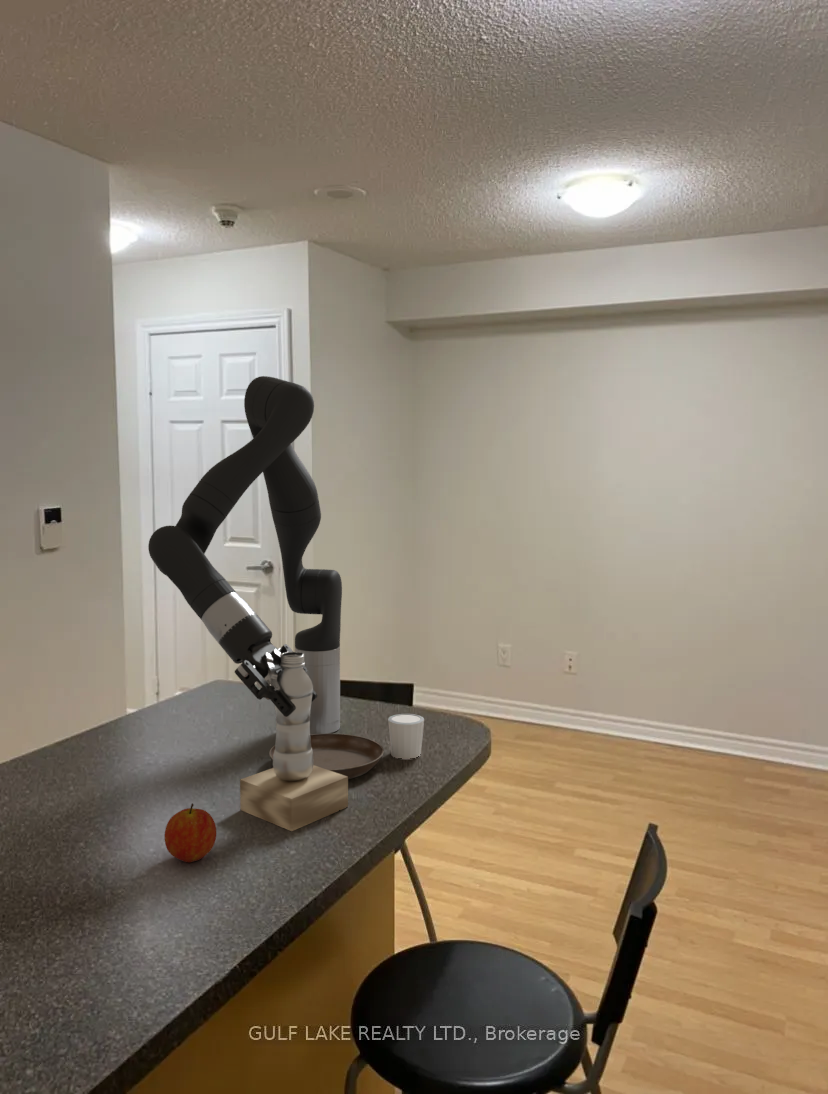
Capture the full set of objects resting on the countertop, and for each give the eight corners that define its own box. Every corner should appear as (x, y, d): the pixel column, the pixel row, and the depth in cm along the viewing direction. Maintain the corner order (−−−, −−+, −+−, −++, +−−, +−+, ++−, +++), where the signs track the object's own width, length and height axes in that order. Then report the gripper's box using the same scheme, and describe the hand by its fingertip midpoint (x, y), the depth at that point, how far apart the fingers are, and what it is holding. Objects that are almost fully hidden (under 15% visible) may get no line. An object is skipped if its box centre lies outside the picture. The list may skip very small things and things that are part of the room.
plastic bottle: (321, 773, 136) (320, 651, 134) (302, 788, 130) (301, 660, 128) (285, 768, 138) (284, 648, 136) (264, 782, 132) (263, 657, 130)
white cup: (425, 749, 163) (425, 713, 162) (422, 761, 156) (422, 724, 156) (390, 747, 164) (390, 712, 163) (385, 759, 157) (385, 723, 156)
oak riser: (240, 810, 134) (240, 779, 133) (296, 788, 143) (296, 759, 142) (291, 831, 126) (291, 799, 125) (347, 806, 135) (347, 776, 135)
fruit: (154, 865, 115) (153, 809, 114) (184, 844, 121) (183, 790, 121) (197, 874, 113) (196, 816, 112) (226, 852, 119) (225, 797, 118)
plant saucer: (322, 741, 168) (322, 725, 168) (406, 762, 156) (406, 745, 156) (245, 771, 151) (245, 753, 151) (332, 798, 139) (332, 778, 139)
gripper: (226, 619, 127) (296, 704, 124) (273, 605, 141) (337, 680, 138) (196, 651, 129) (264, 734, 127) (245, 634, 143) (308, 709, 140)
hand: (302, 706), depth 132 cm, fingers open, 7 cm apart
